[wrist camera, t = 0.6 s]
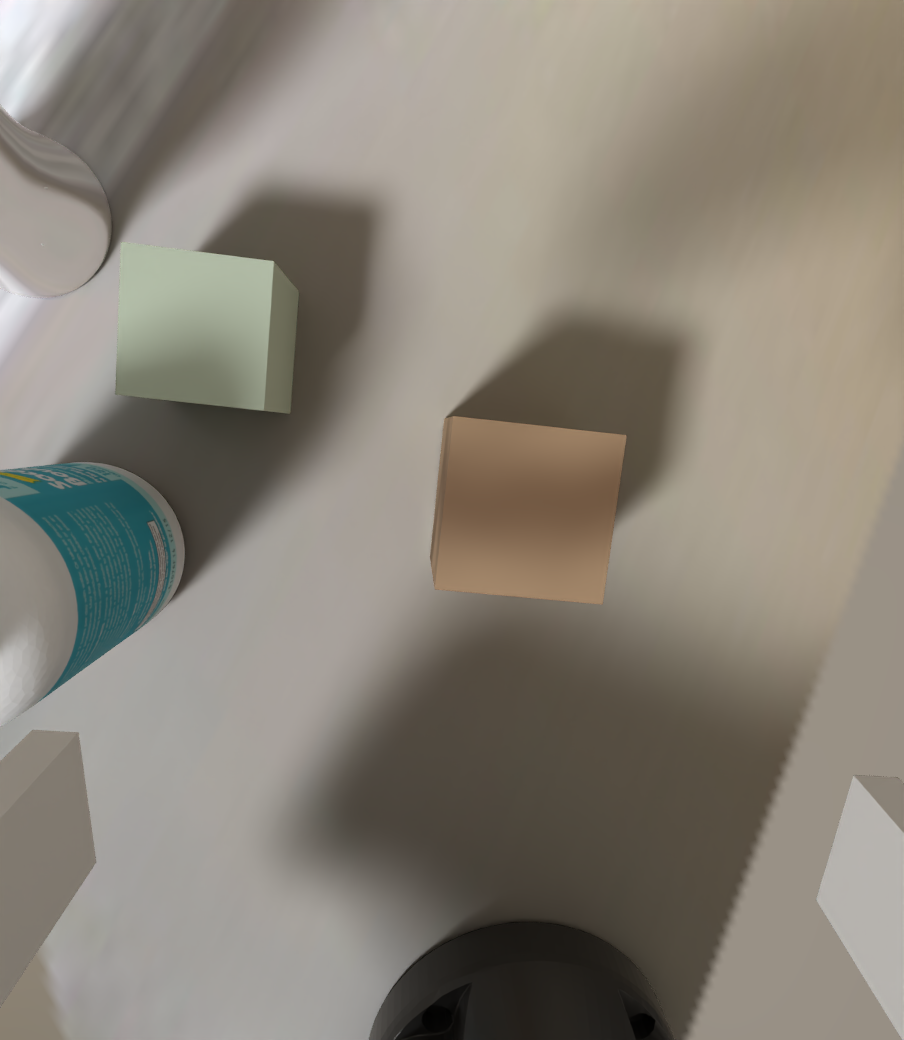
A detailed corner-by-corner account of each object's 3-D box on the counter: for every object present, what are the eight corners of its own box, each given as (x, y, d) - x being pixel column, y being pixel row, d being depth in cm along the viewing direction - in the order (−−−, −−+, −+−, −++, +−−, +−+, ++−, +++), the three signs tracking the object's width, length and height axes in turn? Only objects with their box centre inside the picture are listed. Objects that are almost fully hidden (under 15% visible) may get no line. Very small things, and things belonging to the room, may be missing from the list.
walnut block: (562, 567, 29) (602, 604, 23) (429, 555, 28) (434, 589, 22) (580, 433, 28) (626, 435, 22) (443, 418, 28) (453, 416, 22)
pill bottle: (145, 434, 27) (-117, 438, 14) (219, 593, 28) (45, 742, 15) (-22, 500, 27) (-451, 570, 13) (59, 656, 28) (-261, 865, 15)
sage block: (290, 414, 27) (263, 410, 22) (169, 400, 27) (115, 394, 22) (299, 292, 27) (274, 261, 22) (175, 277, 26) (120, 241, 21)
